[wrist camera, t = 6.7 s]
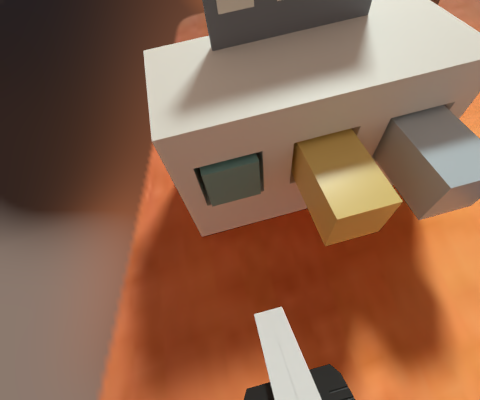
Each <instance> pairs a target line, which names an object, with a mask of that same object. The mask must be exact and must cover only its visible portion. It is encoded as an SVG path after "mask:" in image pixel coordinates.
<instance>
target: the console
mask: <svg viewBox="0 0 480 400" xmlns="http://www.w3.org/2000/svg"><path fill="white" fill-rule="evenodd" d="M144 63H145V74H146V84H147V95H148V106H149V116H150V127H151V138H152V143H153V145H154V146H155V148H156V150H157V152H158V154H159V156H160V158H161V160H162V162H163V164H164V165H165V167H166V169H167V171H168V173H169V175H170V177H171V179H172V181H173V183H174V184H175V186H176V188H177V190H178V192H179V194H180V196H181V198H182V200H183V202H184V204H185V205H186V207H187V209H188V211H189V213H190V215H191V217H192V219H193V221H194V223H195V224H196V226H197V228H198V230H199V232H200V234H201V236H202V237H203V236H207V235H211V234H214V233H218V232H222V231H225V230H229V229H233V228H236V227H240V226H244V225H248V224H251V223H255V222H259V221H262V220H266V219H270V218H273V217H277V216H281V215H285V214H288V213H292V212H296V211H299V210H303V209H307V206H306V204H305V202H304V200H303V197H302V195H301V193H300V191H299V189H298V186H297V184H296V182H295V180H294V178H293V176H292V173H291V166H292V157H293V147H294V143H296V142H300V141H304V140H308V139H312V138H316V137H319V136H323V135H327V134H331V133H335V132H339V131H343V130H347V129H351V128H352V130H353V131H354V133H355V134H356V135H357V137H358V138H359V140H360V141H361V143H362V144H363V145H364V147H365V148H366V150H367V151H368V153H369V154H370V155H371V157H372V158H373V160H374V161H375V163H376V164H377V165H378V167H379V168H380V170H381V171H382V172H383V174H384V175H385V177H386V178H387V180H388V181H389V182H390V184H391V185H393V183H392V182H391V181H390V179H389V178H388V176H387V175H386V173H385V172H384V171H383V169H382V168H381V166H380V165H379V164H378V162H377V161H376V159H375V158H374V157H373V154H374V152H375V150H376V148H377V146H378V144H379V142H380V140H381V138H382V136H383V133H384V131H385V129H386V127H387V125H388V123H389V121H390V119H391V118H394V117H397V116H401V115H405V114H409V113H413V112H417V111H421V110H425V109H429V108H433V107H436V106H440V105H444V106H445V107H447V108H448V109H449V110H450V111H451V112H452V113H453V114H454V115H455V116H456V117H457V118H458V119H459V118H460V117H461V116H462V114H463V113H464V112H465V110H466V109H467V108H468V107H469V105H470V104H471V103H472V101H473V100H474V99H475V97H476V96H477V95H478V93H479V92H480V32H478V31H477V30H475V29H474V28H472V27H471V26H469V25H467V24H466V23H464V22H463V21H461V20H460V19H458V18H457V17H455V16H454V15H452V14H450V13H449V12H447V11H446V10H444V9H443V8H441V7H440V6H438V5H437V4H435V3H434V2H432V1H430V0H372V3H371V6H370V10H369V13H368V15H365V16H361V17H357V18H352V19H348V20H344V21H340V22H335V23H331V24H327V25H322V26H318V27H314V28H310V29H305V30H301V31H297V32H293V33H288V34H284V35H280V36H276V37H271V38H267V39H263V40H258V41H254V42H250V43H246V44H241V45H237V46H233V47H229V48H224V49H220V50H216V51H212V48H211V44H210V39H209V36H205V37H201V38H197V39H192V40H188V41H184V42H179V43H175V44H171V45H166V46H162V47H158V48H153V49H149V50H145V51H144ZM253 153H256V155H257V157H258V160H259V169H260V188H261V194H258V195H254V196H251V197H247V198H243V199H239V200H236V201H232V202H228V203H224V204H220V205H217V206H213V207H212V204H211V201H210V199H209V196H208V193H207V190H206V187H205V185H204V182H203V179H202V176H201V172H200V167H202V166H206V165H210V164H214V163H218V162H222V161H226V160H230V159H234V158H238V157H241V156H245V155H249V154H253Z"/></svg>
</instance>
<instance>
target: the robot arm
mask: <svg viewBox="0 0 480 400" xmlns="http://www.w3.org/2000/svg"><path fill="white" fill-rule="evenodd" d="M254 317H255V321H256V325H257V329H258V333H259V337H260V341H261V346H262V350H263V354H264V358H265V362H266V366H267V370H268V375H269V379H270V382H269V383H265V384H262V385H259V386H255V387H252V388H248V389H247V390H246V394H245V398H244V400H355V399H354V397H353V395H352V393H351V391H350V389H349V388H348V386H347V384H346V382H345V380H344V379H343V377H342V375H341V373H340V372H338V371H337V370H336V369H335V368H334V367H333V366H331V365H330V364H328V365H325V366H321V367H318V368H314V369H311V370H309V369H308V366H307V364H306V362H305V359H304V357H303V355H302V352H301V350H300V348H299V345H298V343H297V341H296V338H295V336H294V334H293V331H292V329H291V327H290V324H289V322H288V320H287V317H286V315H285V313H284V310H283V308H282V307H278V308H275V309H271V310H267V311H264V312H260V313H256V314H254Z"/></svg>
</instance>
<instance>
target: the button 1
mask: <svg viewBox="0 0 480 400" xmlns="http://www.w3.org/2000/svg"><path fill="white" fill-rule="evenodd" d="M200 172H201V176H202V179H203V182H204V185H205V187H206V190H207V193H208V196H209V199H210V201H211V204H212V207H213V206H217V205H220V204H224V203H228V202H232V201H236V200H239V199H243V198H247V197H251V196H254V195H258V194H261V188H260V169H259V160H258V157H257V155H256V153H253V154H249V155H245V156H241V157H238V158H234V159H230V160H226V161H222V162H218V163H214V164H210V165H206V166H202V167H200Z"/></svg>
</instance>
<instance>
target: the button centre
mask: <svg viewBox="0 0 480 400" xmlns="http://www.w3.org/2000/svg"><path fill="white" fill-rule="evenodd" d="M291 173H292V176H293V178H294V180H295V182H296V184H297V186H298V189H299V191H300V193H301V195H302V197H303V200H304V202H305V204H306V206H307V208H308V210H309V213H310V215H311V217H312V219H313V221H314V224H315V226H316V228H317V230H318V232H319V234H320V237H321V239H322V241H323V243H324V245H325V246H328V245H332V244H335V243H339V242H343V241H346V240H350V239H353V238H357V237H360V236H364V235H368V234H371V233H375V232H378V231H380V229H381V228H382V227H383V226H384V224H385V223H386V222H387V221H388V219H389V218H390V217H391V216H392V215H393V213H394V212H395V211H396V210H397V208H398V207H399V206H400V205H401V203H402V202H403V201H402V199H401V198H400V197H399V195H398V194H397V192H396V191H395V190H394V188H393V187H392V185H391V184H390V182H389V181H388V180H387V178H386V177H385V175H384V174H383V172H382V171H381V170H380V168H379V167H378V165H377V164H376V163H375V161H374V160H373V158H372V157H371V155H370V154H369V153H368V151H367V150H366V148H365V147H364V145H363V144H362V143H361V141H360V140H359V138H358V137H357V135H356V134H355V133H354V131H353V130H352V128H351V129H347V130H343V131H339V132H335V133H331V134H327V135H323V136H319V137H316V138H312V139H308V140H304V141H300V142H296V143H294V147H293V157H292V166H291Z"/></svg>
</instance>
